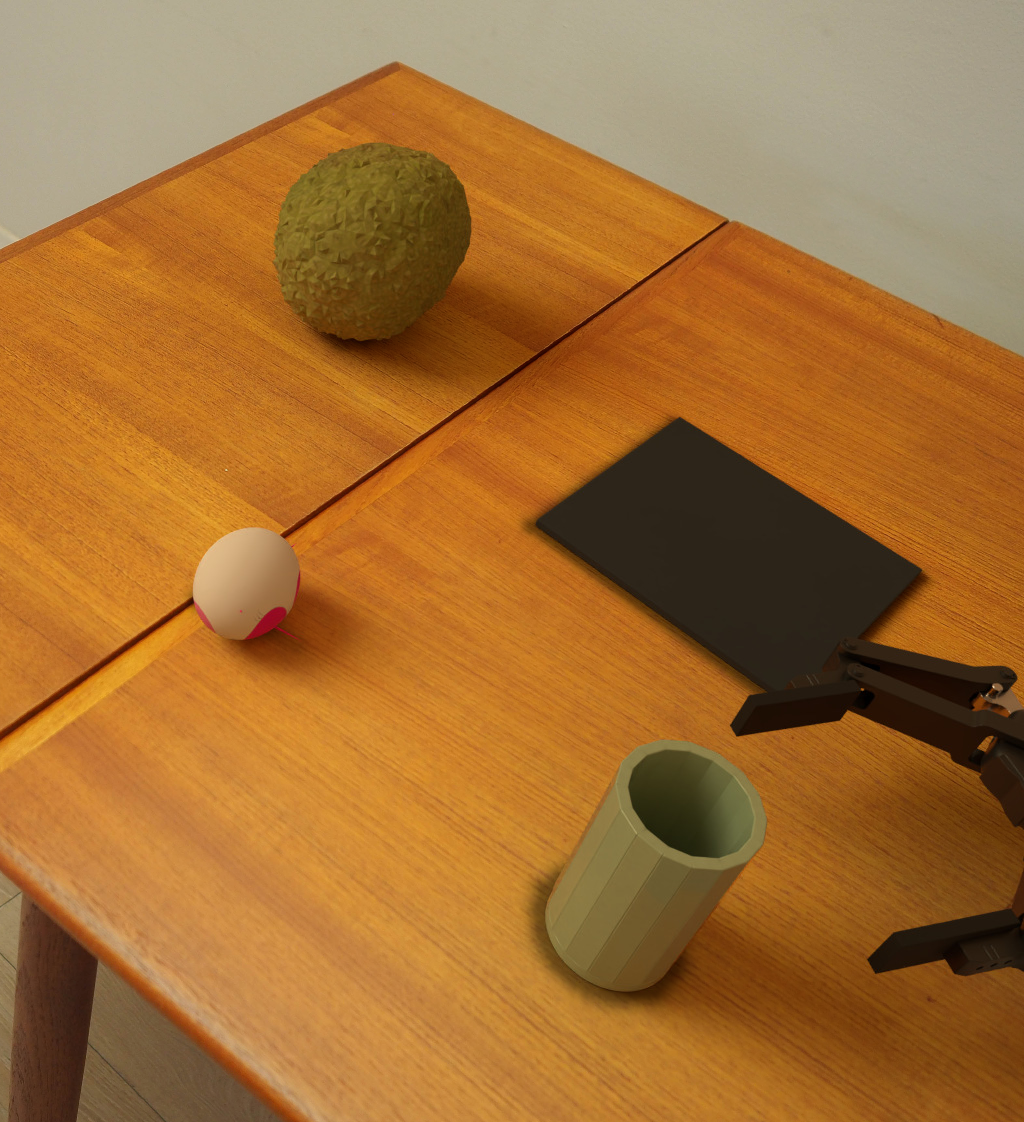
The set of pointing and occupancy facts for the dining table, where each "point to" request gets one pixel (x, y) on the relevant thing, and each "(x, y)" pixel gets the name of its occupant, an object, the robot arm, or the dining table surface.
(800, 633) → the mat
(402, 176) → the fruit
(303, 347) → the dining table surface
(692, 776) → the cup
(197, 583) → the stress ball
